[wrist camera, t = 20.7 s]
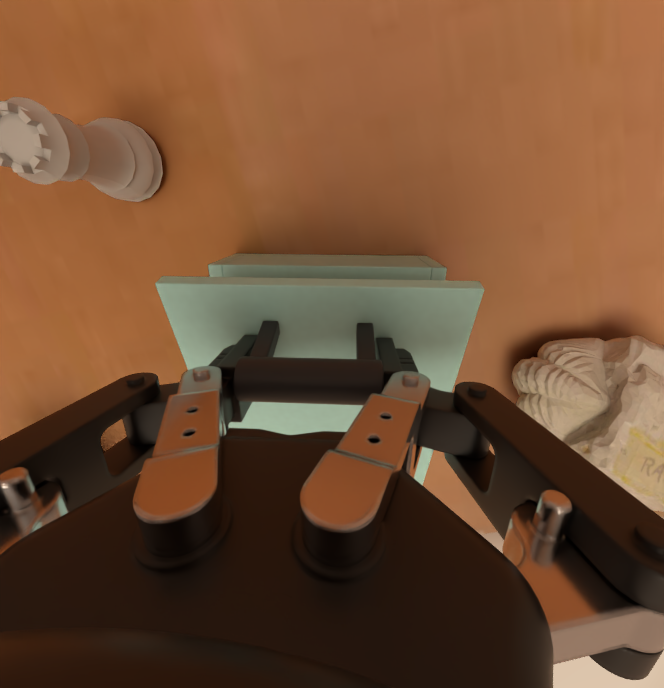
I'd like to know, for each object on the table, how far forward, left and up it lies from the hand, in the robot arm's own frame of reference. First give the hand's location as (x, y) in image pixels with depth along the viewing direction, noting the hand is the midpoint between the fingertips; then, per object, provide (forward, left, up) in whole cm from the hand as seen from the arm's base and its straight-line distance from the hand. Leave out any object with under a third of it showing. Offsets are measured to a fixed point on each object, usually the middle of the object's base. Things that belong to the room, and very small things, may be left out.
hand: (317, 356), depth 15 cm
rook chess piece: (-9, -13, -10) cm, 18 cm away
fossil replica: (+6, +18, -10) cm, 22 cm away
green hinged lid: (+4, 0, -2) cm, 5 cm away
